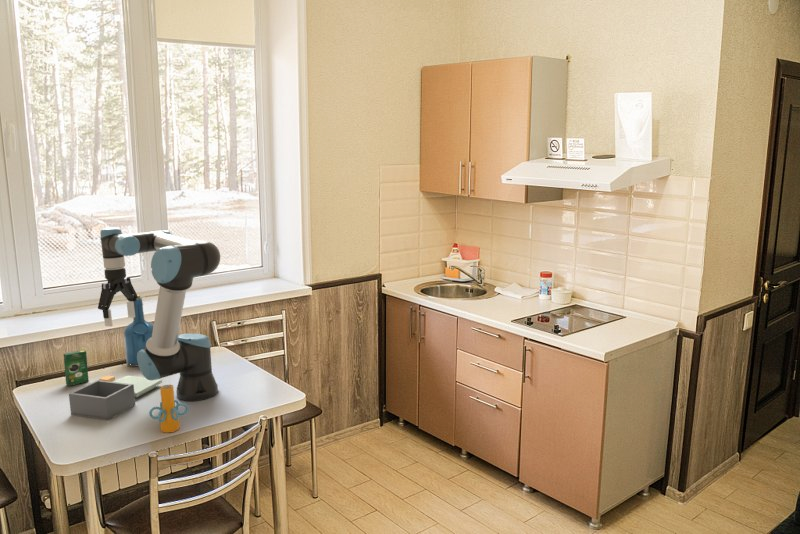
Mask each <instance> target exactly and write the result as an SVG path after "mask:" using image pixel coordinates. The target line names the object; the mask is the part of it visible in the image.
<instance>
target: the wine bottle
mask: <svg viewBox="0 0 800 534" xmlns="http://www.w3.org/2000/svg"><path fill="white" fill-rule="evenodd" d="M137 296H138V297H137V298H136V299H137V300H136V301H134V305H135V308H134V310H135V317H134V318H133V319H132V320H133V321H132V322H131V323H128V325H126V327H125V328H124V330H123V342H124V353H125V361H126V364H128V365H129V364H131V365H130V366H132V365H138V362H137V353H138V351H140V350H141V349H145V347H146V342H147V340H148V339H149V338H151V337H152V332H153V326H154V323H152V322H149V321H147V320H145V315H144V303H143V299H142V297H141V295H140V294H137Z"/></svg>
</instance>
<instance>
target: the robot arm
mask: <svg viewBox="0 0 800 534" xmlns="http://www.w3.org/2000/svg"><path fill="white" fill-rule="evenodd" d="M99 240H100V243H101V253H102V260H103V267H104V270H103V271H104V279H106V280H107V283H101V291H100V297H99V302H98V306H97V309H98V310H101V311H102V315H103V317H102V318H103V319H104V327H113V318H112V309H111V308H110V307H111V304H112V302H113V299H114V298H115V295H116V294H117V293H119V292H121V294H122V295H123V296H124V297H125V298H126V300H127V301H126V308H127V317H128V318H129V319H130V318H134V317H135V310H134V308H135V305H134V301H136V300H137V299H136V298H137V297H138V296H137V295H138V294H137V292H136V290H135V287H134V286H133V284H132V279H131V277H130V276H129V277H127V270H126V268H125V267H126V261H125V257H128V256H129V257H132V256H134V255H135V256H136V254H142V253H143V254H144V253H149V252H150V253H151V252H154V253H153V255H152V258H151V261H150V268H151V275H152V277H153V278H154V281H155V282H156V284H157V285H158V286H159V290H158V298H157V303H156V309H155V314H154V321H153V325H154V326H153V332H152V337H151V338H149V339H148V340H147V342H146V347H145V349H141V350H140V351H138V353H137V362H138V366H137V367H138V369H139V371H140V372H141V374H142V376H143V377H144V378H146V379H148V380H157V379H160V380H162V379H164V378H167V377H171V376H173V375H177V374H179V378H178V382H177V386H176V397H177V399H180V400H182V401H190V402H191V401H194V402H195V401H203V400H207V399H209V398H213V397H214V396H215V395H217V394H218V392H219V387H218V386H219V385H218V383H217V381H216V379H215V377H214V374H213V369H212V366H213V365H212V354H211V353H212V352H211V348H212V346H211V342H210V341H211V340H210V338H209V337H208V335H206V334H201V333H190V332H189V333H182V334H179V332H180V327H181V326H180V325H181V319H182V315H183V310H184V309H183V308H184V305H185V298H186V292H187V290H190V289H191V287H192V285H193V281H194V278H198V277H199V278H200V277H203V276H207V275H210V274H211V273H213V272H214V271H215V270H217V268H218V267H219V264H220V263H221V253H220V252H221V251H220V250H219V248H218V247H217V245H215V244H214V243H213V242H211V241H210V242H209V241H207V240H202V239H201V240H192V239H187V238H184V237H181V236H176V235H173V233H172V232H171V231H170V230H167V229H166V230H165V229H164V230H163V229H160V230H159V229H158V230H154V231H147V232H137V233H128V234H123V233H122V229H121V228H120V227H105V228H102V229H101V230H100V239H99Z"/></svg>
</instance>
